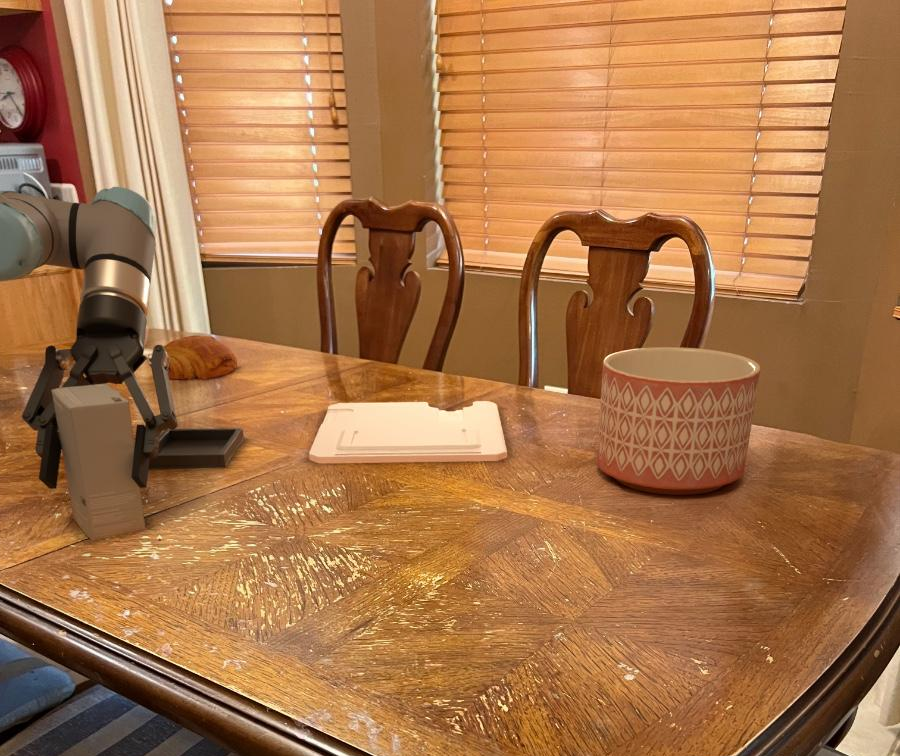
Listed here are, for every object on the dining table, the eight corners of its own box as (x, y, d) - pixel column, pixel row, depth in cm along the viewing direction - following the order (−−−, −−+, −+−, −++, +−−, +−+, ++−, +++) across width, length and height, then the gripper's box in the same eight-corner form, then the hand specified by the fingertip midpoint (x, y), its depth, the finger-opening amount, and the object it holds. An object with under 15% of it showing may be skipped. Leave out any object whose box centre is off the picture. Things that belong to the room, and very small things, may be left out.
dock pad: (142, 470, 119) (139, 455, 118) (167, 442, 130) (165, 428, 129) (225, 469, 119) (223, 454, 118) (244, 441, 130) (242, 427, 129)
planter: (660, 511, 103) (674, 389, 97) (567, 466, 118) (573, 357, 111) (774, 483, 112) (794, 368, 105) (673, 444, 126) (685, 341, 120)
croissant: (148, 387, 168) (135, 347, 164) (204, 361, 179) (194, 322, 175) (200, 394, 161) (188, 353, 157) (255, 366, 172) (246, 326, 168)
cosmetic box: (72, 521, 103) (41, 389, 95) (132, 507, 106) (107, 379, 99) (91, 544, 97) (60, 405, 89) (154, 529, 100) (129, 394, 93)
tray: (330, 410, 145) (330, 401, 144) (496, 407, 145) (496, 398, 144) (308, 465, 120) (307, 454, 119) (508, 462, 120) (508, 451, 119)
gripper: (215, 328, 106) (201, 495, 99) (35, 330, 106) (10, 497, 99) (198, 290, 99) (182, 467, 92) (5, 291, 99) (-24, 469, 92)
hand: (93, 483), depth 96 cm, fingers closed on cosmetic box, 9 cm apart
